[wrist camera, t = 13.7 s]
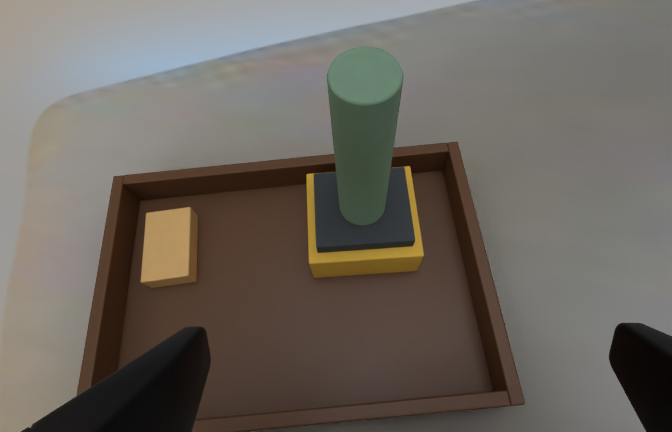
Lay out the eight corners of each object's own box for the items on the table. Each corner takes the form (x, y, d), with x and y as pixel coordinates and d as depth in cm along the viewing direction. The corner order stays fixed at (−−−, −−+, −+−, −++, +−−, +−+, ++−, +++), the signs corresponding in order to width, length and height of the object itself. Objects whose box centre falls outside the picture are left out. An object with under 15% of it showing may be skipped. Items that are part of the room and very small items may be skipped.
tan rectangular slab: (197, 282, 22) (188, 275, 20) (150, 288, 22) (139, 282, 20) (198, 215, 23) (190, 206, 22) (155, 221, 23) (145, 212, 22)
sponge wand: (417, 271, 21) (478, 138, 10) (313, 278, 21) (269, 153, 11) (405, 188, 23) (446, 5, 13) (311, 195, 23) (271, 20, 13)
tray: (448, 166, 24) (457, 141, 22) (504, 403, 19) (525, 404, 17) (136, 197, 25) (113, 176, 22) (102, 442, 19) (66, 448, 17)
